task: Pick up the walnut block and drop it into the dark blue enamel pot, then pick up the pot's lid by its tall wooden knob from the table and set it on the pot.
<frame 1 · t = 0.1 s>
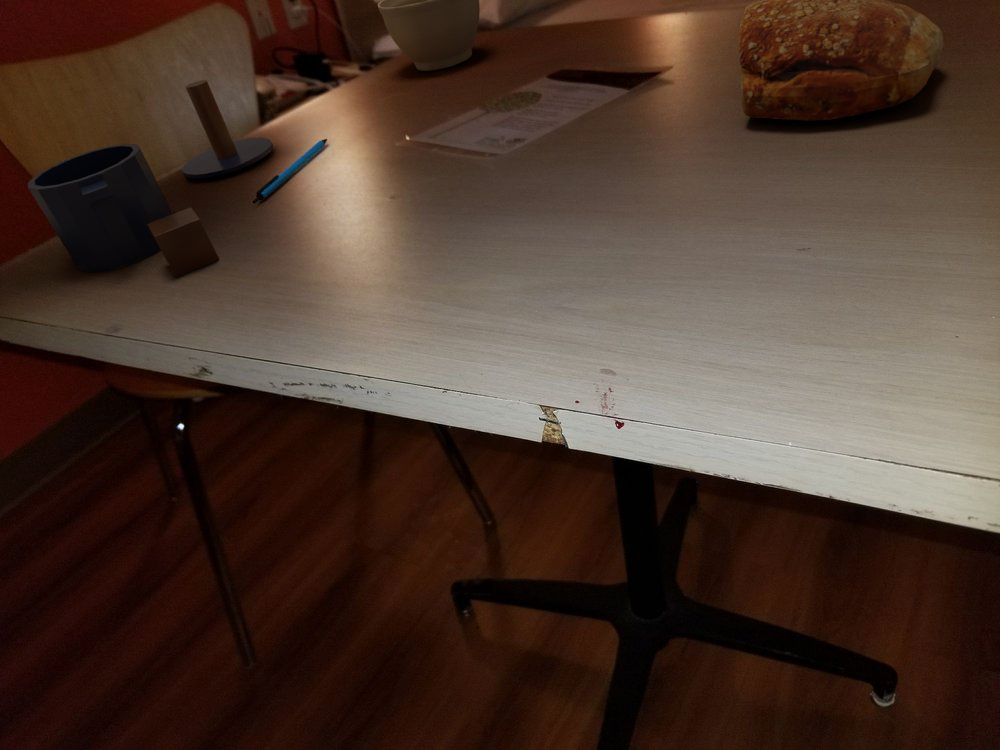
block: (193, 261, 74), on the table
bread: (833, 95, 75), on the table
pot: (129, 245, 81), on the table
planter bowl: (444, 64, 121), on the table
lid: (229, 159, 99), point 1 cm above the table
pen: (295, 173, 90), on the table
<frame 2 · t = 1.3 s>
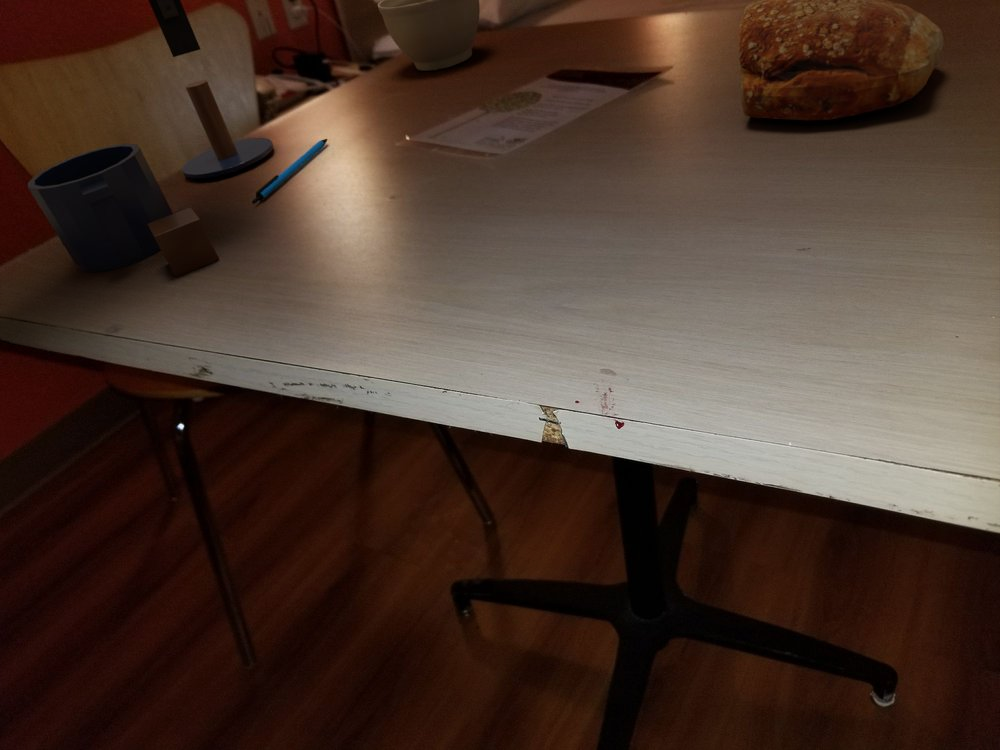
hand: (183, 44, 77), 17 cm above the table, tool pointing down, fingers open, 13 cm apart
nothing on the table moved.
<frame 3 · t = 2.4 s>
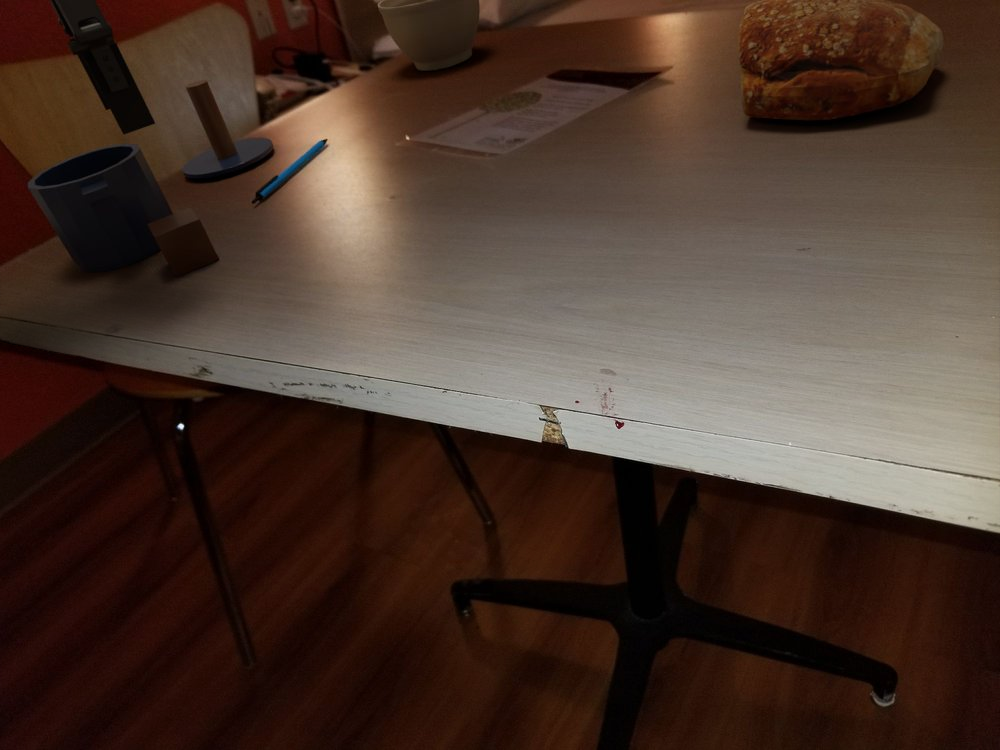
hand: (128, 116, 66), 14 cm above the table, tool pointing down, fingers open, 13 cm apart
nothing on the table moved.
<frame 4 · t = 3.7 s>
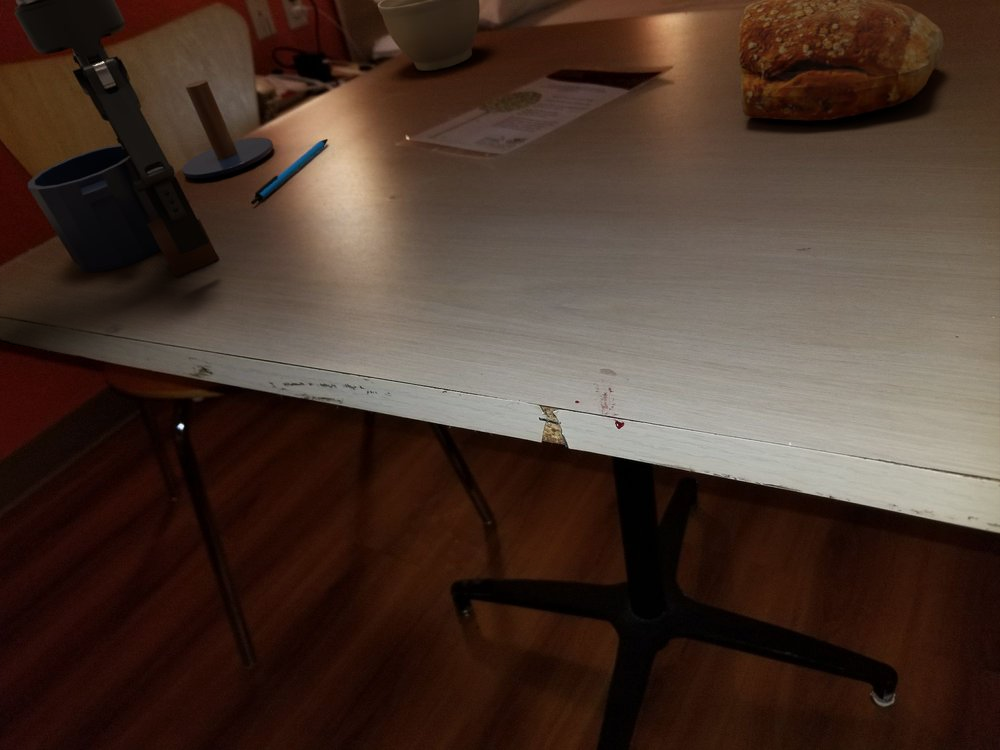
hand: (182, 229, 72), 4 cm above the table, tool pointing down, fingers open, 12 cm apart
nothing on the table moved.
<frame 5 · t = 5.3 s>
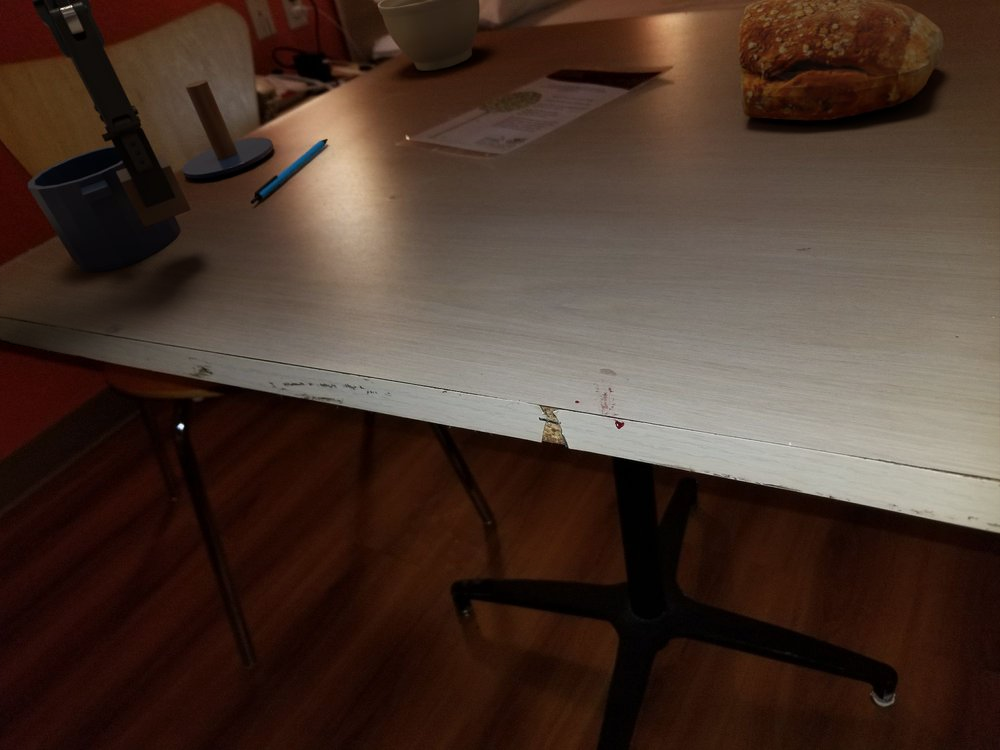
hand: (156, 194, 70), 7 cm above the table, tool pointing down, fingers closed on block, 4 cm apart
block: (164, 212, 71), point 6 cm above the table, touching gripper
everything else where it was.
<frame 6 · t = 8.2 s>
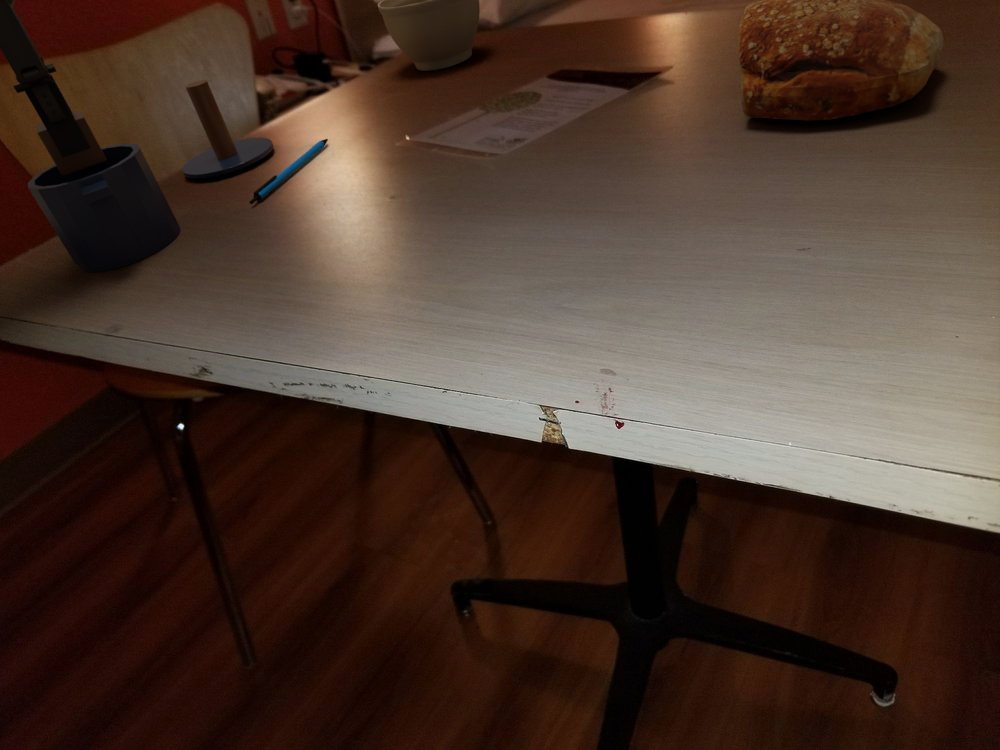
hand: (74, 146, 75), 11 cm above the table, tool pointing down, fingers closed on block, 4 cm apart
block: (83, 163, 76), point 10 cm above the table, touching gripper
everything else where it was.
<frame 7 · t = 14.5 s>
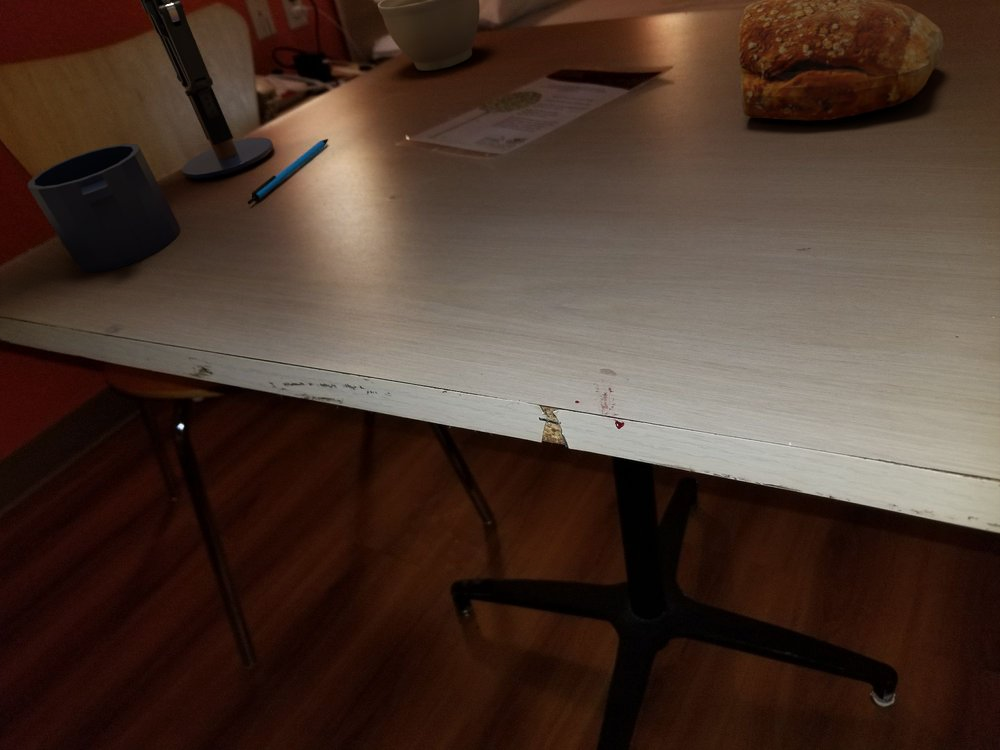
hand: (219, 138, 97), 4 cm above the table, tool pointing down, fingers closed on lid, 3 cm apart
block: (128, 241, 81), resting on pot
lid: (229, 159, 99), point 1 cm above the table, touching gripper
everything else where it was.
when the fingers open (12 cm above the table, at t = 21.4 s): lid stays where it is, resting on pot.
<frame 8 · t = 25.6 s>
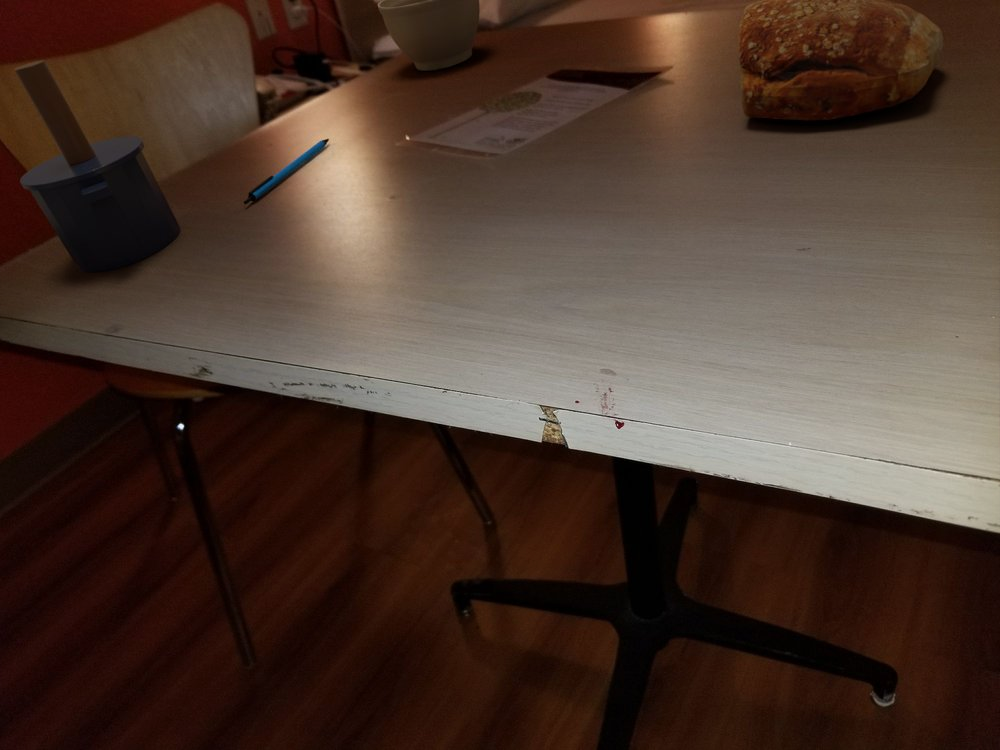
lid: (85, 164, 76), point 9 cm above the table, touching pot
everything else where it was.
at the end: block inside the target area in the pot (0.1 cm from its centre), point 0.5 cm above the pot's base; lid 0.1 cm off-centre on the pot, point 9.5 cm above the pot's base; lid tilted 0° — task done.
